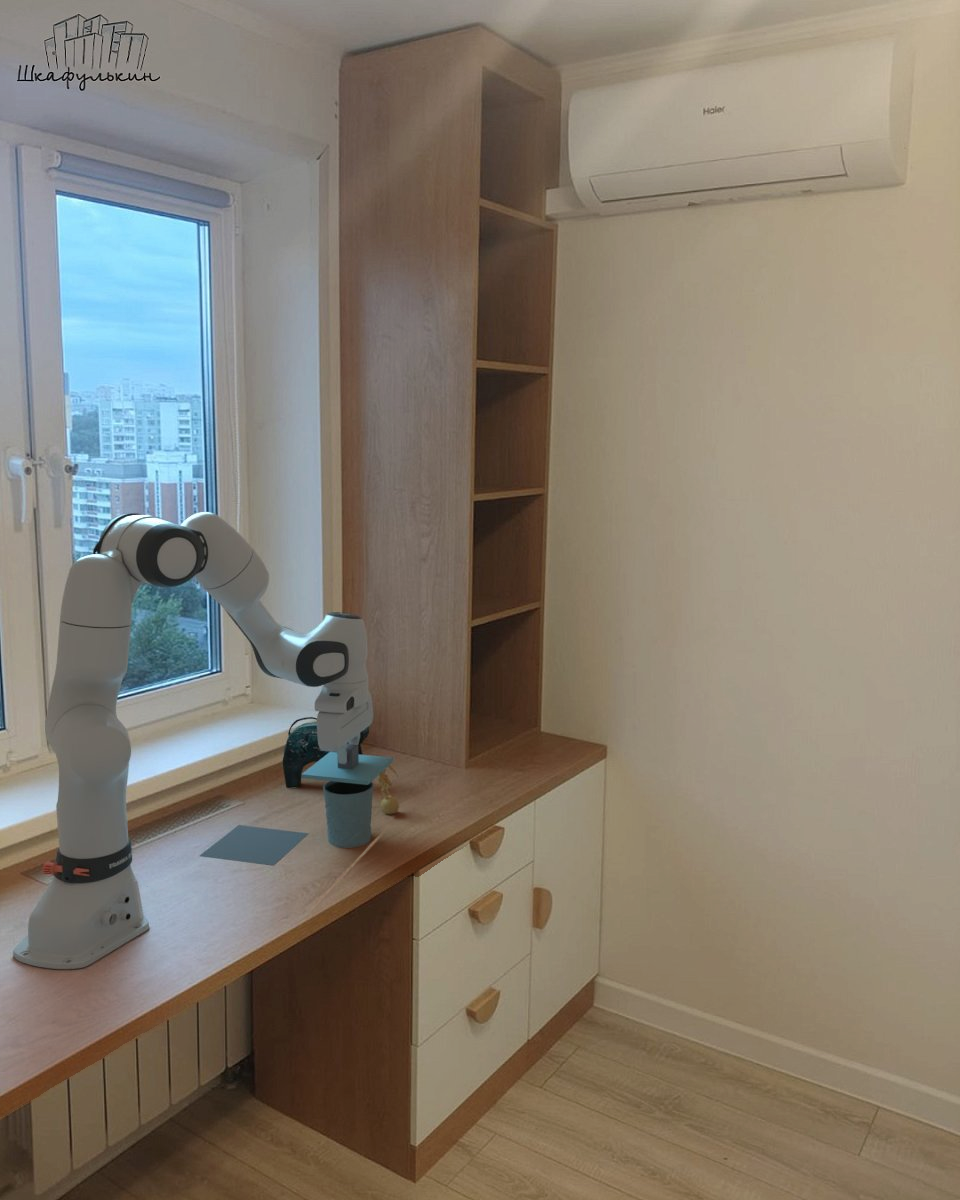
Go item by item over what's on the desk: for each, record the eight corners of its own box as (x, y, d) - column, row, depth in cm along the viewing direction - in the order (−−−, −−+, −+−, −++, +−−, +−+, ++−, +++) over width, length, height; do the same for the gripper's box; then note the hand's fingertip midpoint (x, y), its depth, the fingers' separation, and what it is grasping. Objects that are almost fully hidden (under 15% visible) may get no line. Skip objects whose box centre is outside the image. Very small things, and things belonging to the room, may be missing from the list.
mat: (273, 868, 206) (273, 865, 206) (199, 858, 210) (199, 855, 210) (308, 836, 221) (308, 833, 221) (238, 827, 225) (238, 824, 225)
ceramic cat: (371, 784, 251) (369, 701, 247) (365, 794, 244) (363, 709, 241) (288, 780, 253) (285, 698, 249) (280, 790, 246) (277, 706, 243)
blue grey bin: (329, 854, 212) (328, 796, 210) (320, 834, 222) (318, 779, 219) (379, 847, 215) (378, 791, 213) (368, 828, 225) (367, 774, 223)
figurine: (383, 822, 228) (382, 768, 226) (363, 815, 232) (362, 762, 230) (409, 810, 235) (408, 758, 232) (388, 804, 238) (388, 752, 236)
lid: (368, 784, 207) (367, 761, 206) (301, 778, 211) (300, 754, 210) (393, 761, 221) (392, 739, 220) (330, 755, 224) (329, 733, 223)
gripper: (351, 678, 223) (353, 741, 226) (310, 705, 204) (312, 774, 207) (379, 680, 222) (381, 744, 224) (341, 707, 202) (343, 777, 205)
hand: (348, 758), depth 215 cm, fingers closed on lid, 3 cm apart
